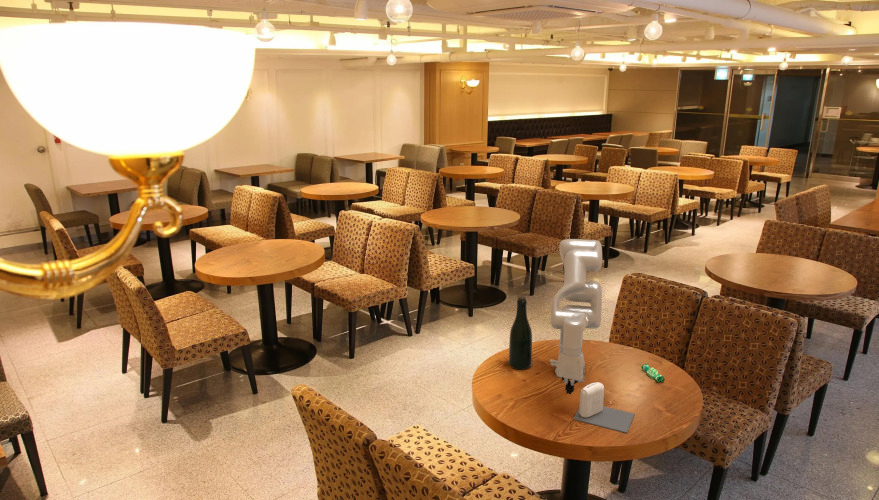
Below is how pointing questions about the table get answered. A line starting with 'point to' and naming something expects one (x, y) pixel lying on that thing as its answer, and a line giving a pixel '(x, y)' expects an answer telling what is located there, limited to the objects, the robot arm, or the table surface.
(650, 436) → the table surface
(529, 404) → the table surface
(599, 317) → the robot arm
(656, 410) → the table surface
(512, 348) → the dark green wine bottle
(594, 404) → the photo printer
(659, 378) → the candy
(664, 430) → the table surface
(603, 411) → the rubber mat
